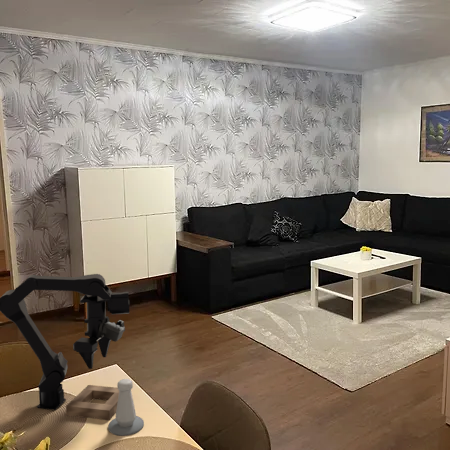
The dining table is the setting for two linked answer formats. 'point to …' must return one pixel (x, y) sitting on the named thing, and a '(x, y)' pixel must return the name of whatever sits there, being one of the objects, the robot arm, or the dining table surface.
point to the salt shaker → (125, 404)
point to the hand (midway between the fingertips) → (97, 362)
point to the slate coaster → (123, 431)
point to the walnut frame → (94, 410)
